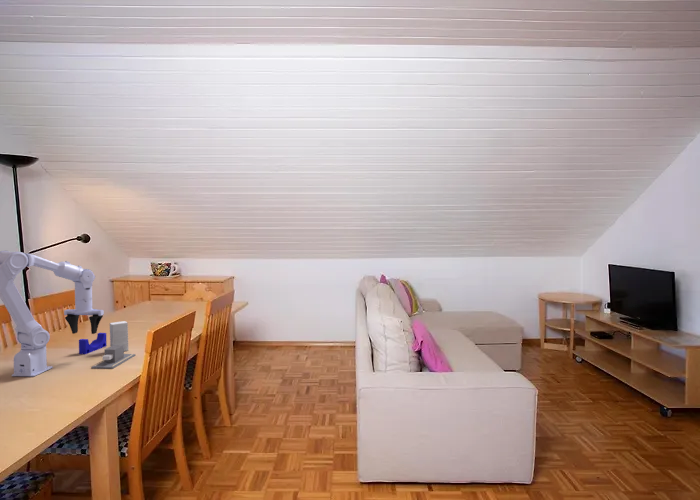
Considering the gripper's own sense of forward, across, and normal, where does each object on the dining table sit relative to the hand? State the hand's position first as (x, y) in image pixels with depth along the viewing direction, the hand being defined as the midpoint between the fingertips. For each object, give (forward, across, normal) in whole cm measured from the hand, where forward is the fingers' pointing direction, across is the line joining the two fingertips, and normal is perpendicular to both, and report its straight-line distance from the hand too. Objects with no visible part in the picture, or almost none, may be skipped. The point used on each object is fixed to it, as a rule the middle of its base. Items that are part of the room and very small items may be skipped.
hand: (84, 333), depth 167 cm
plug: (+9, -14, +5) cm, 18 cm away
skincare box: (+10, -8, -10) cm, 16 cm away
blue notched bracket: (+10, +4, -11) cm, 16 cm away
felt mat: (+10, -14, +4) cm, 18 cm away
